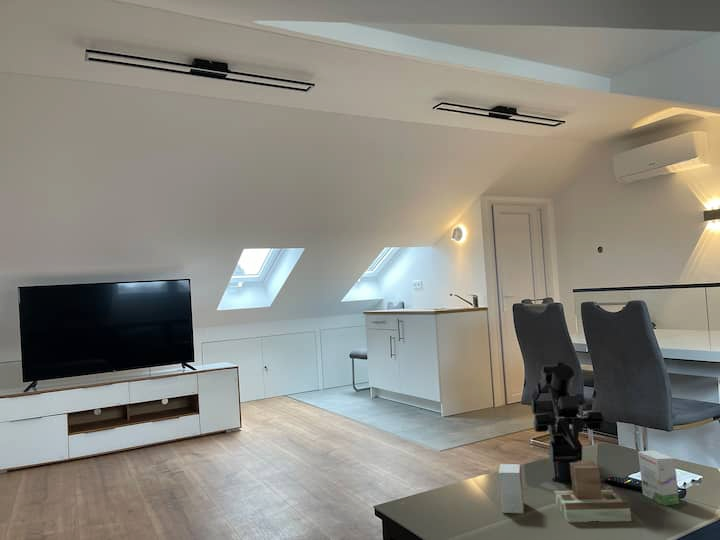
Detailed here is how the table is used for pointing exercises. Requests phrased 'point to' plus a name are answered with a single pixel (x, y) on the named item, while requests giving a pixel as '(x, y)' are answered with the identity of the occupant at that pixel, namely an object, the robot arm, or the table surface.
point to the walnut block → (585, 480)
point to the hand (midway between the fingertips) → (576, 448)
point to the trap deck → (593, 507)
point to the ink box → (659, 477)
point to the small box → (511, 488)
